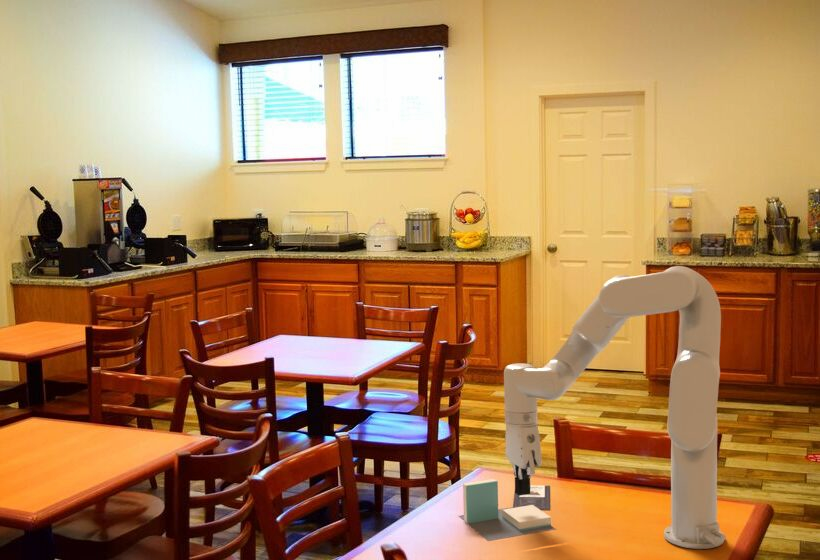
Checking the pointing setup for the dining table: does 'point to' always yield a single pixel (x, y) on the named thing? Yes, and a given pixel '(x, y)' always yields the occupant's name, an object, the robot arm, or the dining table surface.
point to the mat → (501, 528)
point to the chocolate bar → (534, 498)
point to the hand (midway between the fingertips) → (522, 493)
